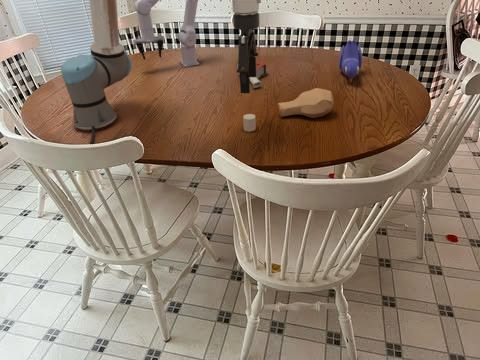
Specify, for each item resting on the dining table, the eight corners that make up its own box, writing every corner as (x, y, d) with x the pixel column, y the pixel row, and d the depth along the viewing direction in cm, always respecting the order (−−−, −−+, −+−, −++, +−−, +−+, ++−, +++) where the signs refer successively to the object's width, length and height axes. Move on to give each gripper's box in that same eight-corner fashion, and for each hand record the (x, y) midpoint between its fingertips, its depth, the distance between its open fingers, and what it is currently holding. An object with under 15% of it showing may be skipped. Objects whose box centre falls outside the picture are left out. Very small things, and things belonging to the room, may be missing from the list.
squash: (337, 118, 126) (338, 97, 119) (281, 128, 127) (279, 108, 121) (330, 101, 133) (330, 80, 127) (277, 111, 135) (275, 90, 128)
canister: (258, 129, 123) (257, 116, 120) (248, 132, 121) (248, 120, 118) (250, 124, 125) (250, 112, 123) (241, 128, 123) (240, 116, 121)
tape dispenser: (257, 93, 151) (279, 75, 164) (257, 81, 148) (279, 63, 160) (223, 84, 159) (246, 67, 171) (222, 73, 155) (246, 57, 168)
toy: (337, 76, 168) (339, 86, 146) (339, 39, 162) (341, 42, 139) (359, 76, 166) (364, 85, 144) (361, 37, 159) (367, 41, 137)
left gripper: (252, 22, 91) (254, 100, 103) (264, 3, 110) (265, 71, 123) (223, 23, 92) (229, 100, 104) (240, 4, 112) (243, 70, 124)
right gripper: (131, 32, 160) (138, 62, 168) (163, 28, 163) (168, 58, 171) (130, 29, 165) (136, 58, 173) (161, 25, 169) (166, 54, 177)
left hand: (248, 84), depth 114 cm, fingers open, 13 cm apart
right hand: (152, 58), depth 173 cm, fingers open, 7 cm apart
